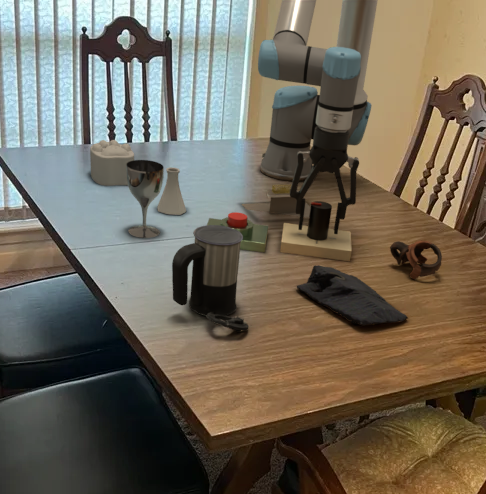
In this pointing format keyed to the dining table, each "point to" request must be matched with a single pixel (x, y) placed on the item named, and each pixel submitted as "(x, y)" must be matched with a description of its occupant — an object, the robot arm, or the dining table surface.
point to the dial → (319, 220)
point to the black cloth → (349, 297)
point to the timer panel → (316, 243)
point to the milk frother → (210, 274)
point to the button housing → (247, 234)
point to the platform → (279, 203)
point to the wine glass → (144, 190)
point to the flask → (172, 195)
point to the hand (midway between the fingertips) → (317, 229)
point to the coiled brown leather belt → (416, 257)
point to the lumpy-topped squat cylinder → (110, 162)
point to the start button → (237, 219)
